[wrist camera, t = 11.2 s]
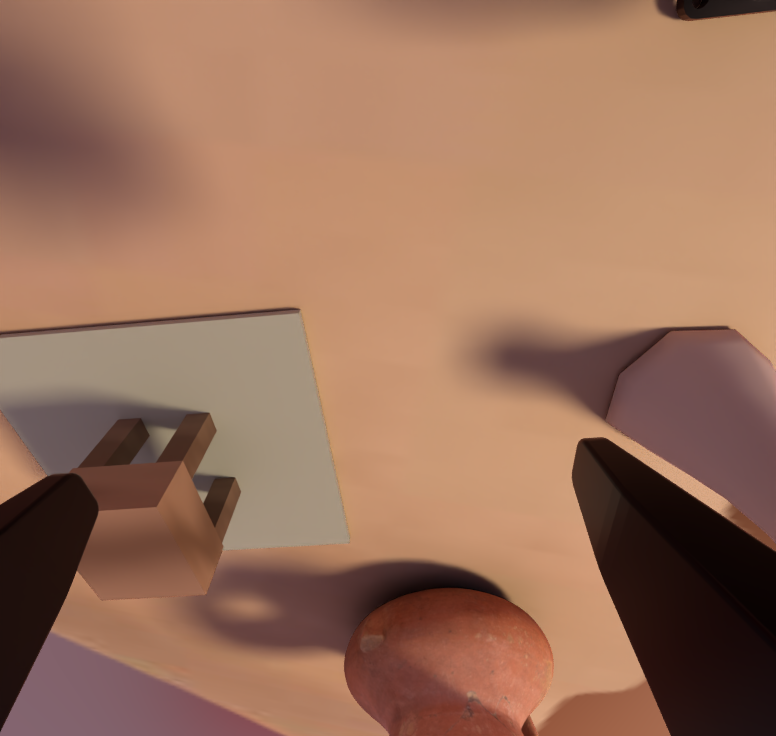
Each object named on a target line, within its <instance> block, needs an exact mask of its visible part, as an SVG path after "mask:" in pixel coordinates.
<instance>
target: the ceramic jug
mask: <svg viewBox="0 0 776 736" xmlns="http://www.w3.org/2000/svg"><path fill="white" fill-rule="evenodd" d="M553 666H554V664H553V655H552V651H551V647H550V645H549V643H548V640H547V638H546V637H545V635H544V633H543V631H542V630H541V628H540V627H539V626H538V624H537V623H536V622H535V621H534V620H533V619H532V618H531V617H530V616H529V615H528V614H527V613H526V612H525V611H523V610H522V609H521V608H519V607H518V606H516V605H514V604H513V603H511V602H509V601H507V600H505V599H502V598H500V597H497V596H494V595H491V594H488V593H484V592H480V591H475V590H470V589H462V588H438V589H428V590H423V591H418V592H414V593H410V594H407V595H404V596H401V597H398V598H396V599H394V600H391V601H389V602H387V603H385V604H384V605H382V606H380V607H379V608H377V609H376V610H374V611H373V612H371V613H370V614H369V615H368V616H367V617H366V618H365V619H364V620H363V621H362V622H361V623H360V624H359V626H358V627H357V629H356V630H355V632H354V634H353V636H352V638H351V640H350V642H349V645H348V648H347V651H346V654H345V660H344V672H345V677H346V682H347V685H348V688H349V690H350V692H351V694H352V695H353V697H354V699H355V700H356V701H357V703H358V704H359V705H360V706H361V707H362V708H363V709H364V710H365V711H366V712H367V713H368V714H369V715H370V716H371V717H372V718H373V719H375V720H376V721H377V722H378V723H380V724H381V725H382V726H383V727H384V728H385V729H386V730H387V731H388V733H389V736H539V735H538V733H537V731H536V728H535V726H534V724H533V722H532V719H531V717H530V714H531V713H532V711H533V710H534V709H535V708H536V707H537V706H538V705H539V704H540V702H541V701H542V700H543V698H544V697H545V695H546V693H547V691H548V689H549V687H550V685H551V681H552V677H553Z"/></svg>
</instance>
